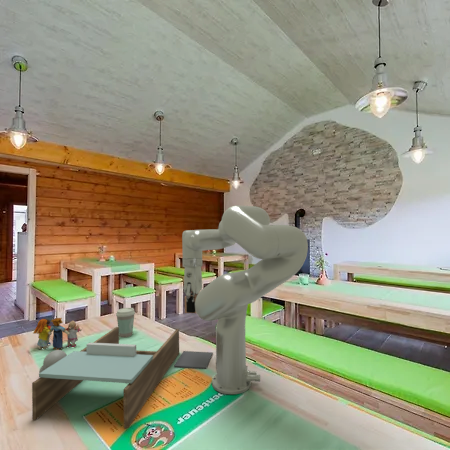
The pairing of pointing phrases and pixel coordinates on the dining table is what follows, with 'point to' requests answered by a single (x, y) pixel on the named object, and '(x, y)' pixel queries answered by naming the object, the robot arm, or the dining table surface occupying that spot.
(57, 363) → the sliding cover
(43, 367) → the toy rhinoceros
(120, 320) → the coffee cup
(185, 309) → the terracotta block
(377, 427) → the dining table surface
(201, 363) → the rubber mat
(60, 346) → the doll family
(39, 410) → the wooden shelf frame
